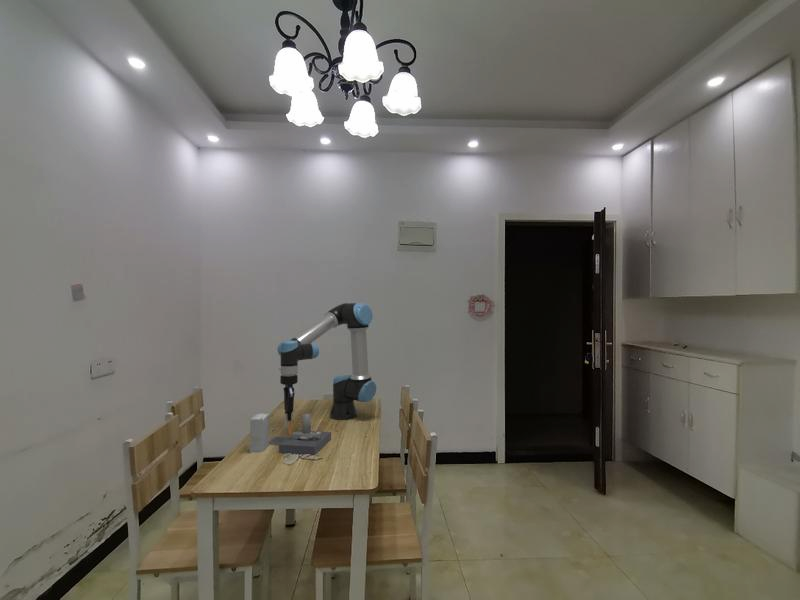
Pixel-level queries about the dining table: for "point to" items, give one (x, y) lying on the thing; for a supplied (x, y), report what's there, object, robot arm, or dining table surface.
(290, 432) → the clip
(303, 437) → the plug
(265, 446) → the skincare box
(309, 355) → the robot arm
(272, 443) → the pad
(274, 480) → the dining table surface
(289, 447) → the socket block
